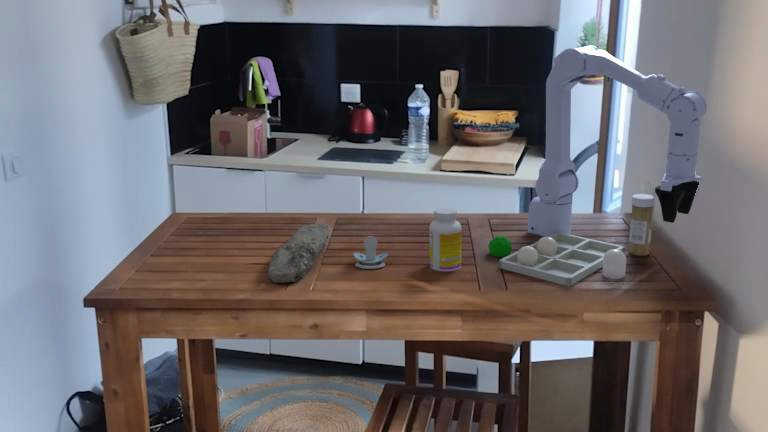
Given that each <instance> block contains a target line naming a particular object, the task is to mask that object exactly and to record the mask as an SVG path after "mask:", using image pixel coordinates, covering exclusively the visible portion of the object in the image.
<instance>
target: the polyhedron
mask: <svg viewBox="0 0 768 432" xmlns="http://www.w3.org/2000/svg"><path fill="white" fill-rule="evenodd" d="M488 250H489V254H490V255H491V256H493V257H495V258H504V257H507V256H509V255H511V254H512V250H513V247H512V242H511V241H510V240H509V239H508V238H507V237H505V236H504V235H497V236H495V237H494V238H493V239H491V240H489V244H488Z"/></svg>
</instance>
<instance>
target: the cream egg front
mask: <svg viewBox="0 0 768 432" xmlns="http://www.w3.org/2000/svg"><path fill="white" fill-rule="evenodd" d="M517 251H518V253H517V260H518V262H519V263H520V264H521V265H525V266H529V267H532V266H534V265H535V264H536V263H537V261H538V252H537V251H536V249H535V248H533V247H531V246H529V245H525V246H522V247H521V248H519V250H517Z"/></svg>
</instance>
